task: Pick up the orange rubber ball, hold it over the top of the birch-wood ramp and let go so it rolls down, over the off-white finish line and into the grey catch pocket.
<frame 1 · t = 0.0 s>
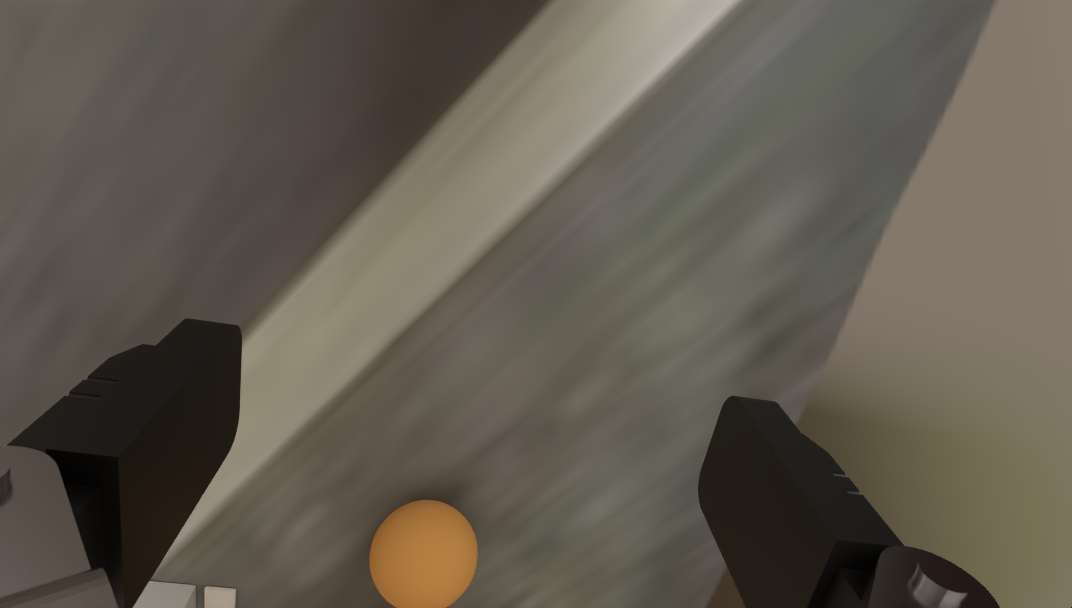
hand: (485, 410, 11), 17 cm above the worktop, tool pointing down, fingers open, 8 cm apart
ball: (424, 555, 31), point 2 cm above the worktop
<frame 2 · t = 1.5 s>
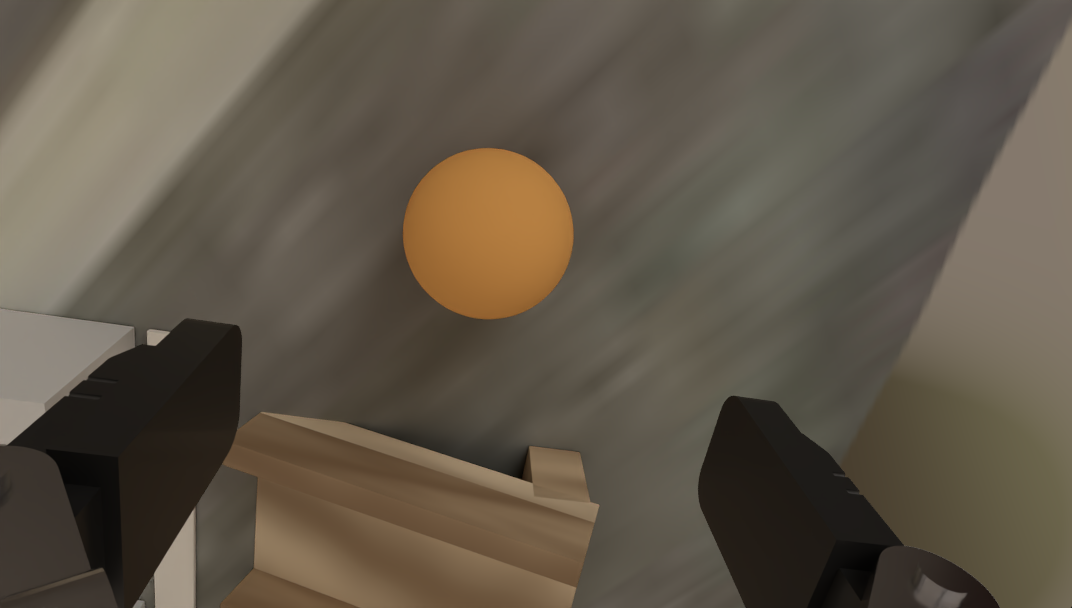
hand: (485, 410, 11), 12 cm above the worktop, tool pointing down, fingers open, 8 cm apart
ramp: (411, 521, 27), on the worktop
ball: (488, 234, 20), point 2 cm above the worktop
finish line: (175, 496, 25), on the worktop
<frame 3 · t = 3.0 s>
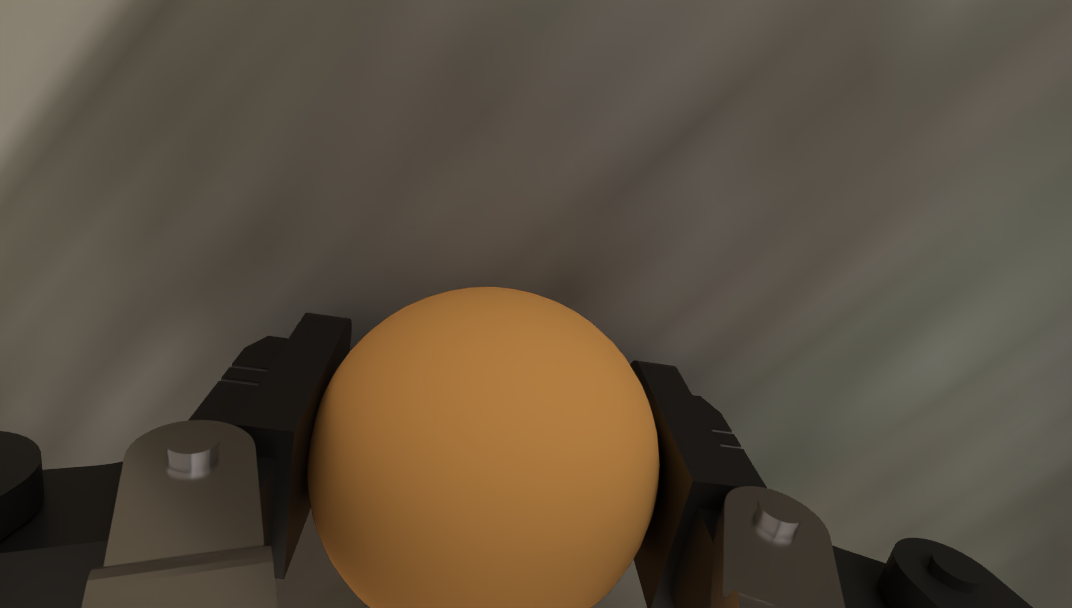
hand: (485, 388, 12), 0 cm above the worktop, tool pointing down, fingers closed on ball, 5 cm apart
ball: (486, 456, 10), point 2 cm above the worktop, touching gripper
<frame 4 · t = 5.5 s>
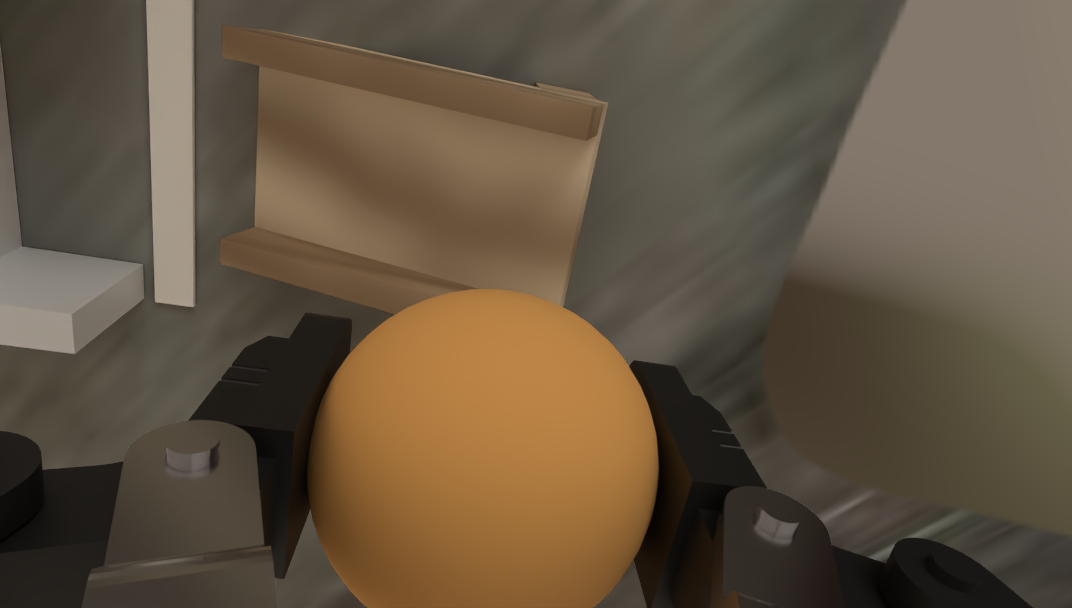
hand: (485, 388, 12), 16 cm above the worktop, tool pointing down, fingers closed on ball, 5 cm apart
ramp: (415, 173, 26), on the worktop
ball: (486, 458, 10), point 18 cm above the worktop, touching gripper
finish line: (173, 132, 25), on the worktop
when the fingers open (5 cm above the worktop, at t = 8.0 s): ball drops 2 cm, resting on ramp.
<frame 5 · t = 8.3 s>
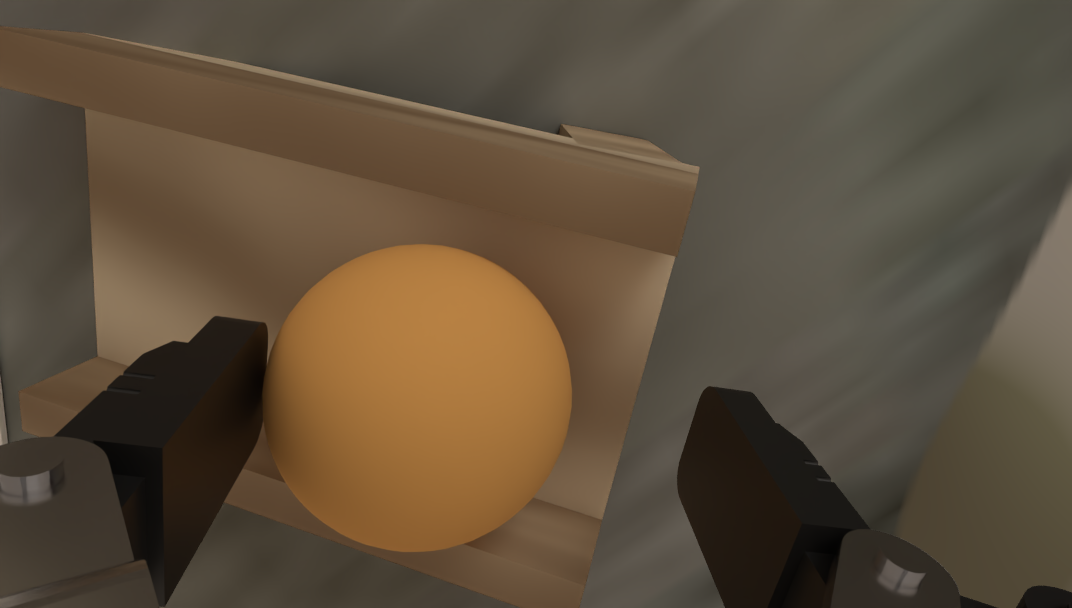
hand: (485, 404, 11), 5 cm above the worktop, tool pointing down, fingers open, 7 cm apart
ramp: (361, 271, 16), on the worktop
ball: (423, 393, 11), point 5 cm above the worktop, tilted 24°, touching ramp
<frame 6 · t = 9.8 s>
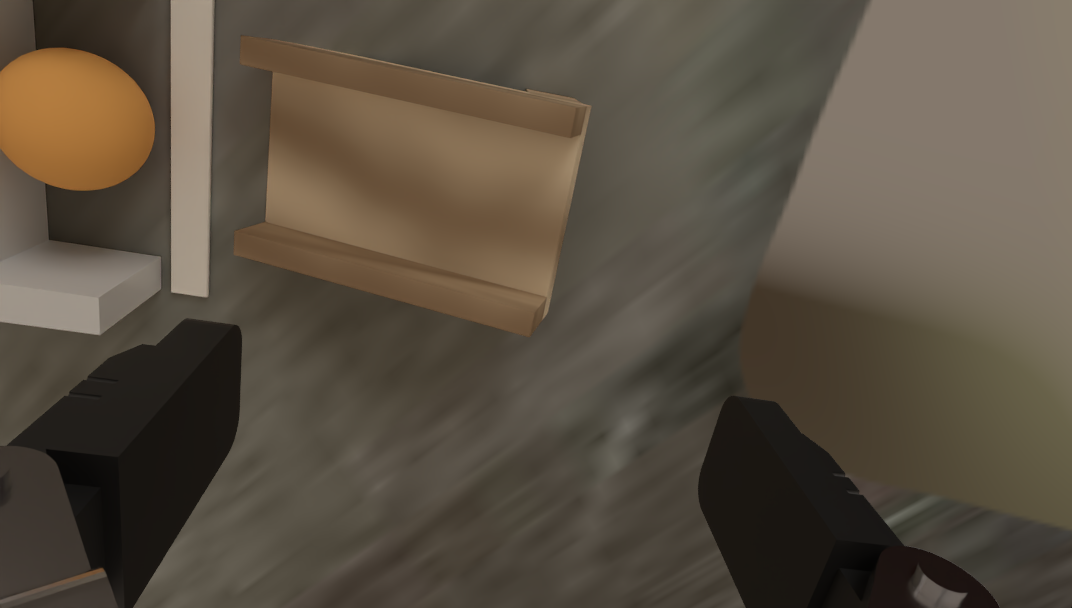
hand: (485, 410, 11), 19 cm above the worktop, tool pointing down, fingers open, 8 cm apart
ramp: (415, 172, 28), on the worktop
backstop: (19, 103, 26), on the worktop
ball: (75, 121, 24), point 2 cm above the worktop, tilted 15°
finish line: (192, 133, 27), on the worktop
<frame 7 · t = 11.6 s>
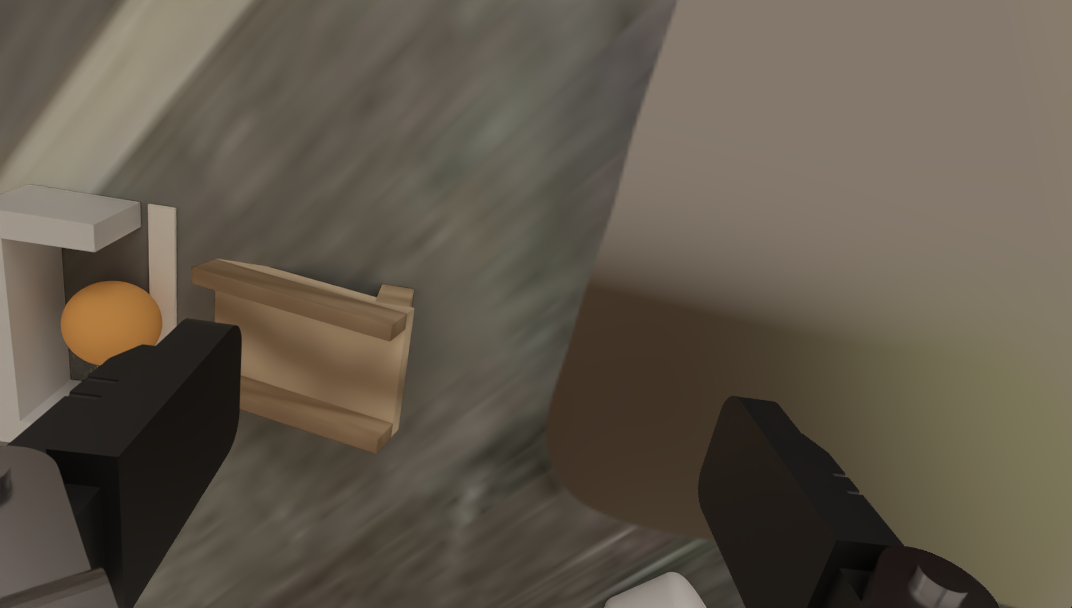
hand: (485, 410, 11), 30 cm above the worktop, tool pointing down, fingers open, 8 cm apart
ramp: (312, 335, 43), on the worktop
backstop: (51, 298, 41), on the worktop
ball: (113, 323, 39), point 2 cm above the worktop, tilted 16°
finish line: (164, 314, 41), on the worktop
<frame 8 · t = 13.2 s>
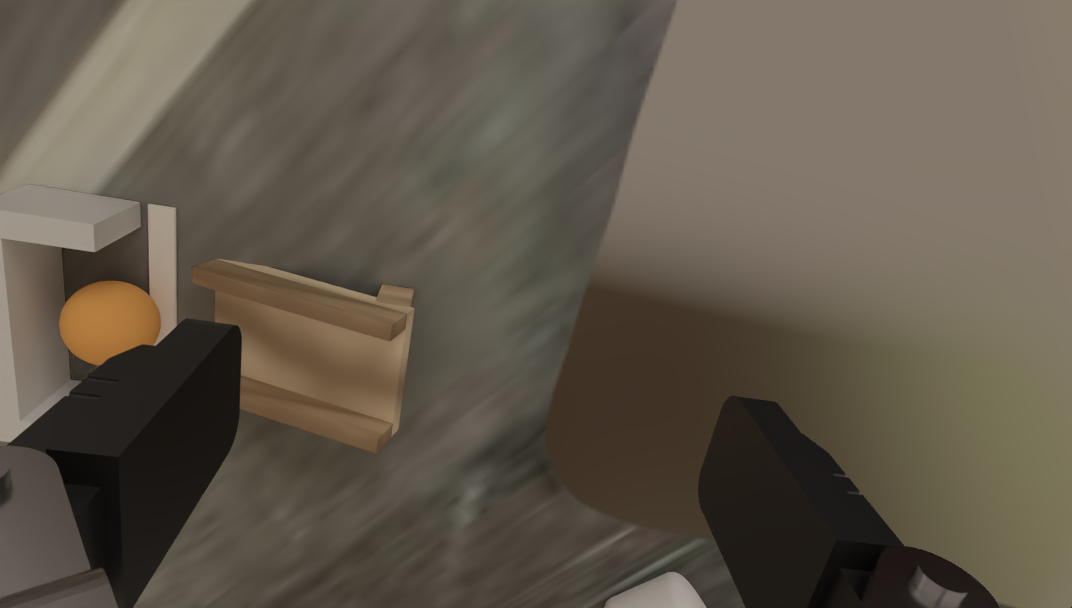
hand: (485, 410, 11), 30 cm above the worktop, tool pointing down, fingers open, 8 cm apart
ramp: (312, 335, 43), on the worktop
backstop: (51, 298, 41), on the worktop
ball: (111, 323, 39), point 2 cm above the worktop, tilted 14°
finish line: (164, 314, 41), on the worktop
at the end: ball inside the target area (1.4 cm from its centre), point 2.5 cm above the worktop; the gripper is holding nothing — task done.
